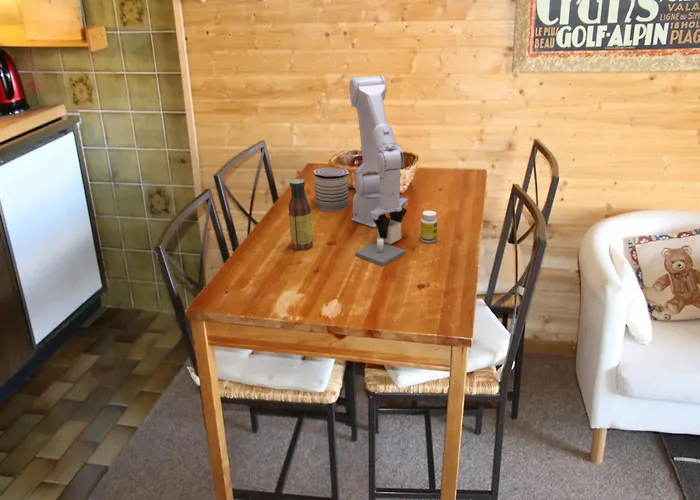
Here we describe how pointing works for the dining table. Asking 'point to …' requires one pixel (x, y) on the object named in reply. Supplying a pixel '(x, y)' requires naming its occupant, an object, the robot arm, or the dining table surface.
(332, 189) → the can
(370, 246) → the base plate
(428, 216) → the supplement bottle
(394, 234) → the box
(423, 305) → the dining table surface
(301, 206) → the sauce bottle
